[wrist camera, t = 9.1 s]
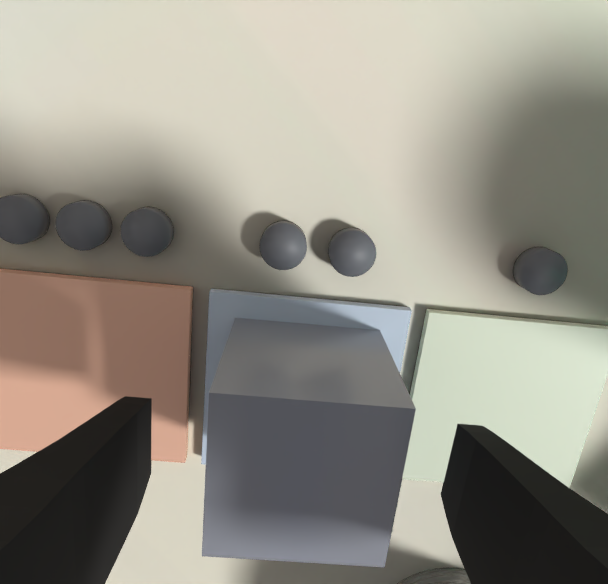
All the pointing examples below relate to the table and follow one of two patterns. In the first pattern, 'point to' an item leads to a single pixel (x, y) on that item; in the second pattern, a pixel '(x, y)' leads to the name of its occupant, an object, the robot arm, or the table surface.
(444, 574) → the grey tin
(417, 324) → the table surface
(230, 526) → the marker cube
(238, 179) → the table surface
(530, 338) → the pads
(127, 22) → the table surface
